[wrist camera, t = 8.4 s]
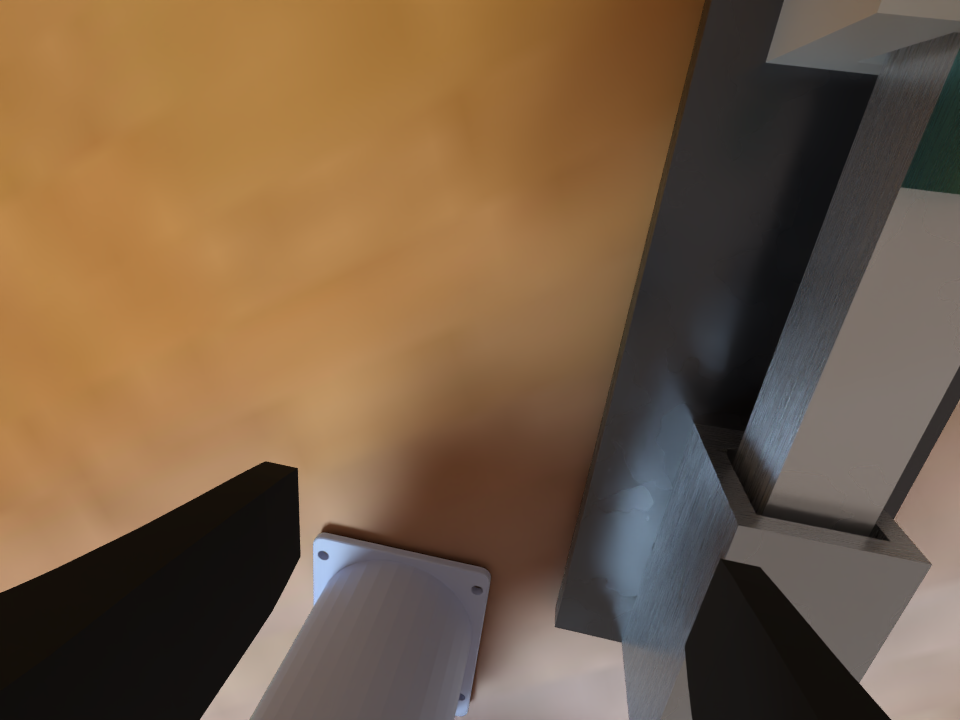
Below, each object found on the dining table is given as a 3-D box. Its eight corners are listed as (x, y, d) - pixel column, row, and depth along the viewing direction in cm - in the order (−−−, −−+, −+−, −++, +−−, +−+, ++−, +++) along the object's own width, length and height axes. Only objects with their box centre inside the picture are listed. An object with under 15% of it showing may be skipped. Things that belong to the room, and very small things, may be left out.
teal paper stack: (797, 533, 16) (961, 815, 9) (713, 515, 17) (812, 777, 10) (1080, -78, 10) (2132, -544, 3) (939, -88, 11) (1639, -539, 4)
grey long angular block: (793, 661, 22) (869, 842, 16) (555, 607, 23) (549, 759, 17) (1190, -94, 12) (1758, -318, 6) (736, -128, 13) (864, -345, 7)
